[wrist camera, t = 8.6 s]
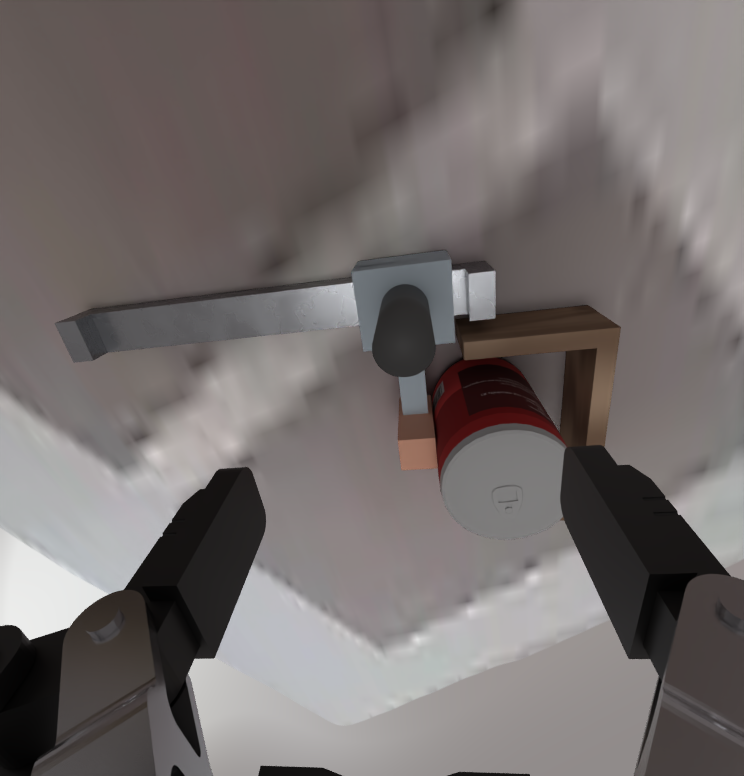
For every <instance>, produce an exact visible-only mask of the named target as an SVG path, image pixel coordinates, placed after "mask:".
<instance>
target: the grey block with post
mask: <svg viewBox="0 0 744 776" xmlns="http://www.w3.org/2000/svg"><path fill="white" fill-rule="evenodd" d="M351 274H352V280H353V287H354V293H355V300H356V306H357V313H358V319H359V326H360V332H361V339H362V345H363V352H364V351H372V353H373V357H374V359H375V361H376V363H377V364H378V366H379V367H380V368H381V369H382V370H384V371H385V372H386V373H388V374H390V375H393V376H397V377H399V385H400V394H401V397H400V399H399V423H398V446H399V454H400V462H401V470H416V469H433V468H438V467H437V454H436V442H435V431H434V422H433V413H432V403H431V395H427V393H426V381H425V369H426V368H427V367H428V366H429V365H430V364H431V362H432V360H433V358H434V355H435V350H436V345H435V344H445V343H455V327H454V306H453V285H452V265H451V258H450V256H449V255H448V253H447V251H446V250H442V251H434V252H426V253H418V254H411V255H403V256H395V257H387V258H379V259H371V260H364V261H358V262H357V264H356V265H355V267H354V268H353V270H352V272H351Z"/></svg>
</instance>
